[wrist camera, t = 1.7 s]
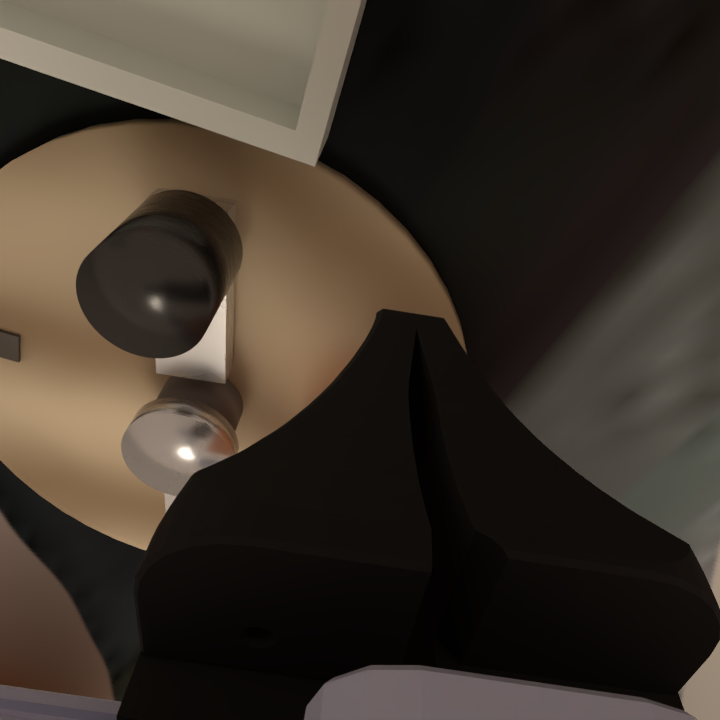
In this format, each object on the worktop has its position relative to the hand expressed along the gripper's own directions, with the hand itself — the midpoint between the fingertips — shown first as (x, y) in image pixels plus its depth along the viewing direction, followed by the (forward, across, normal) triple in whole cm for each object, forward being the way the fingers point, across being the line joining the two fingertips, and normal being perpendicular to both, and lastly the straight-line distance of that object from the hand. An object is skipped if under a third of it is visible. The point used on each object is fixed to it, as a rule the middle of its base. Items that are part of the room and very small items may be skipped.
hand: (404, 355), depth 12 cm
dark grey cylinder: (+5, +5, +6) cm, 9 cm away
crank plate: (+6, +6, +6) cm, 10 cm away
